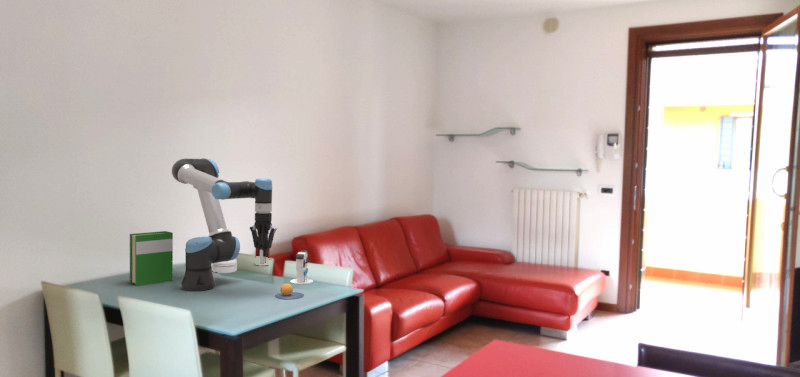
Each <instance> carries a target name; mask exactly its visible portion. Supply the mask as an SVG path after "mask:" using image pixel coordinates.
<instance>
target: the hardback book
mask: <svg viewBox="0 0 800 377" xmlns="http://www.w3.org/2000/svg"><path fill="white" fill-rule="evenodd" d="M173 235H174V233H173V232H170V231H166V230H163V231H162V230H161V231H152V232H151V231H150V232H138V233H129V284H130V285H133V284H134V285H135V287H140V286H148V285H154V284H161V283H167V282H173V275H174V274H173V273H174V272H173V270H174V268H173V265H174V263H173V260H174V258H173V256H174V255H173V253H174V252H173V250H174V249H173V245H174V244H173V242H174V241H173V240H174V238H173V237H174V236H173Z"/></svg>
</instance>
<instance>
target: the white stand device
mask: <svg viewBox="0 0 800 377" xmlns="http://www.w3.org/2000/svg"><path fill="white" fill-rule="evenodd" d="M308 254H309V251H308V250H300V251H298V252H297V253H296V256H295V258H296V260H295V270H296V278H293V279H291V280H290V281H289V282H290V283H291V284H295V285H308V284H312V283H313V282H314V280H313V279H311V278H308V276H307V274H308V270H309V269H308V263H309V256H308Z"/></svg>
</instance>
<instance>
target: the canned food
mask: <svg viewBox="0 0 800 377" xmlns="http://www.w3.org/2000/svg"><path fill="white" fill-rule="evenodd" d="M262 249H263V248H262ZM270 250H271V248H269V249H267V256H266V257H268V258H270ZM256 256H258V248H255V257H256Z"/></svg>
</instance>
